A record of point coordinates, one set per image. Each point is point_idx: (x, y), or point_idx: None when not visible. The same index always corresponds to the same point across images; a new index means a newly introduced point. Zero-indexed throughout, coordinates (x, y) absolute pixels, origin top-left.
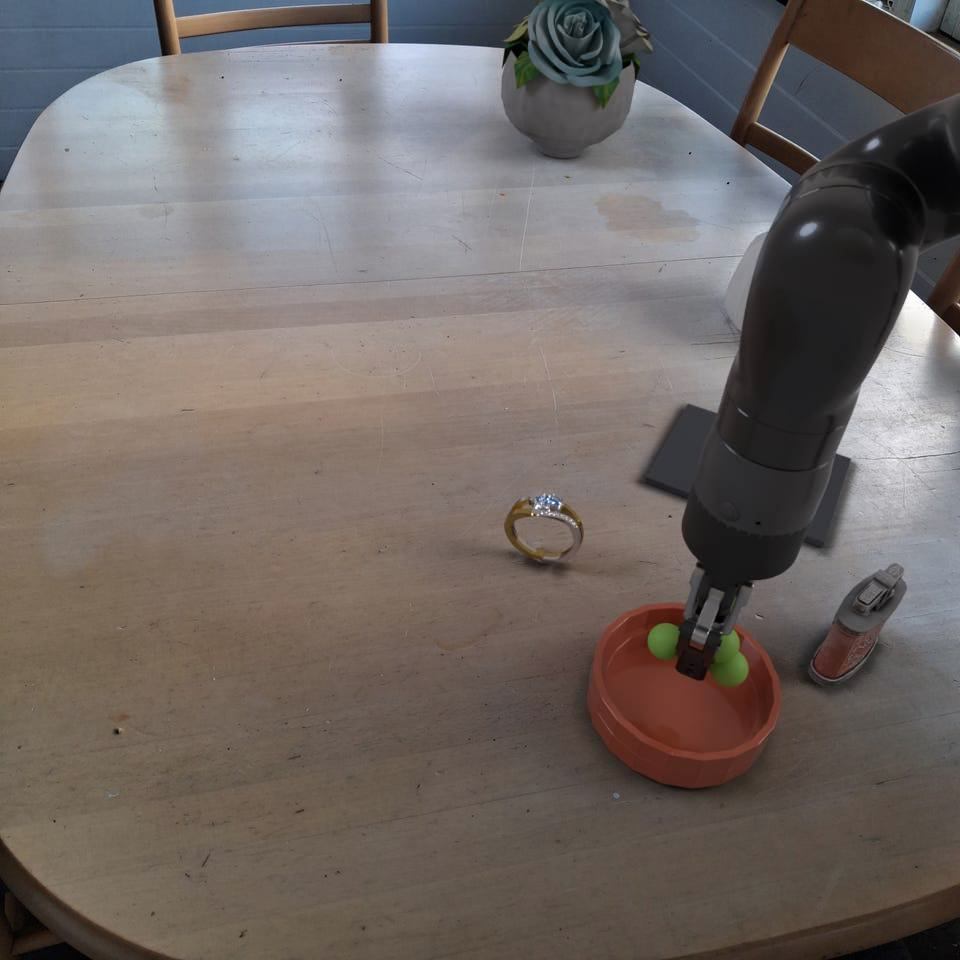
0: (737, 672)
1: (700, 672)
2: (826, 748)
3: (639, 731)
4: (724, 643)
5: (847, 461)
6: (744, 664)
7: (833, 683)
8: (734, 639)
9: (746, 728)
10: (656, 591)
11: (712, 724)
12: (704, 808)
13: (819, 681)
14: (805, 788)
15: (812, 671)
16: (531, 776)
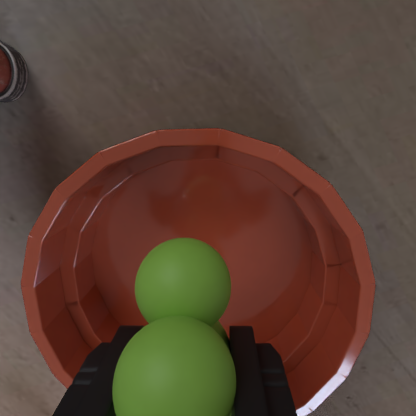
0: (211, 279)
1: (267, 362)
2: (143, 31)
3: (351, 343)
4: (207, 411)
5: None
6: (177, 272)
7: (13, 51)
8: (169, 388)
9: (184, 163)
10: (26, 343)
11: (205, 211)
12: (337, 178)
13: (24, 76)
14: (234, 46)
15: (13, 92)
16: (385, 378)
